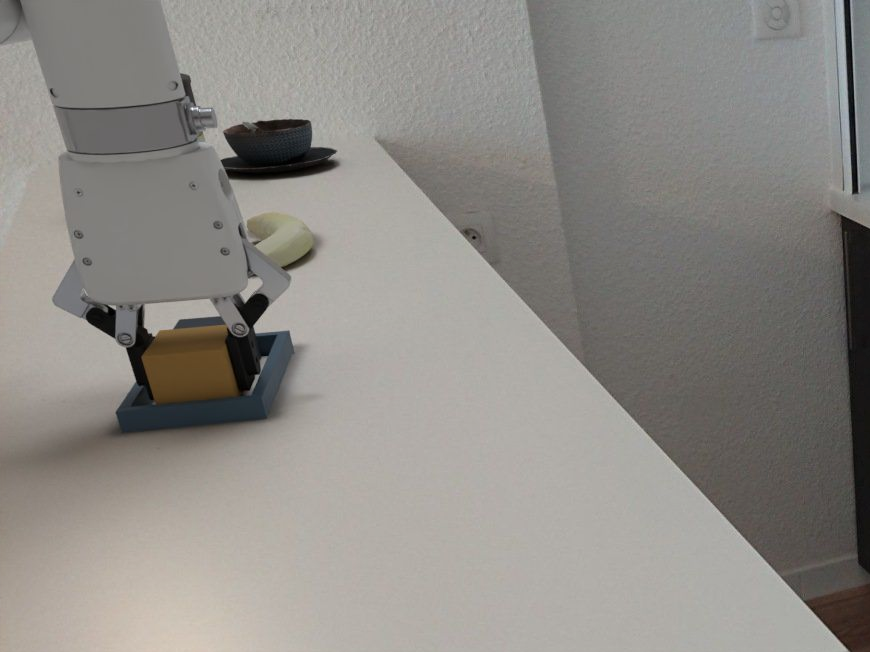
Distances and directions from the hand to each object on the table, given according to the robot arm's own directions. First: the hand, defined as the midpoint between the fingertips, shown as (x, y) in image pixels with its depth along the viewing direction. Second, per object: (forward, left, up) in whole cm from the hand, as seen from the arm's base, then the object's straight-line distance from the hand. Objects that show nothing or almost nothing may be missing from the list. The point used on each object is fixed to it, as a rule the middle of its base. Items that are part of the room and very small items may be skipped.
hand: (203, 386), depth 93 cm
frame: (0, +4, -2) cm, 4 cm away
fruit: (-2, +47, -2) cm, 47 cm away
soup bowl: (-7, +94, -2) cm, 94 cm away
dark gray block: (0, +7, -2) cm, 7 cm away
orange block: (0, 0, 0) cm, 0 cm away
